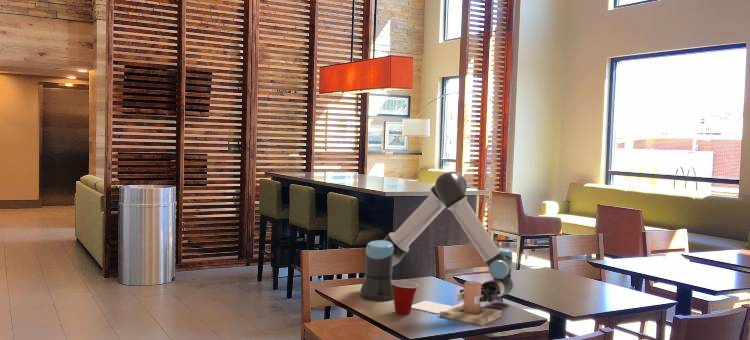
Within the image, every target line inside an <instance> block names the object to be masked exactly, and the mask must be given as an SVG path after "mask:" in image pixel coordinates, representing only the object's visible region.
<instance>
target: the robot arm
mask: <svg viewBox="0 0 750 340" xmlns="http://www.w3.org/2000/svg"><path fill="white" fill-rule="evenodd" d="M467 188H468V183H467V180H466V178H465V177H464V175H462V174H461V173H460V172H458V171H449V172H448V171H447V172H445V173H442V174H440V175H438V177H437V178H436V181H435V184H434V185H433V186H432V187H431V188H430V194H429V195H428V196H427V197H426V199H424V200H423V201H422V203H421V204H420V205H419V206H418V207H417V208H416V209H415V210H414V211H413V212H412V213H411V215H410V216H408V217H407V219H405V221H403V223H402V224H401V225H400V226H399V228H397V229H396V230H395V232H389V233H388V234H387V235H386V236H385V238H384V239H381V240H380V239H378V240H372V241H370V242H367V245H366V249H365V266H364V267H365V269H364V280H363V281H362V285H361V288H360V290H359V297H360V298H362V299H364V300H369V301H378V302H383V301H391V300H394V297H393V288H392V284H391V281H393V269H394V268H393V267H394V266H396V265H398V264H399V263H400V262H401V261H402V259H403V258H404V257H405V255H406V254H408V253H409V251H410V247H409V246H410V245H411V244H412V243H413V242H414V241H415V240H416V239H417V238H418V237H419V236H420V235H421V234H422V233H423V232H424V230H425V229H426V228H428V226H429V225H430V224H431V223H432V222H433V221H434V219H436V218H437V217H438V216H439V214H440V213H442V211H443V210H445V209H447V210H448V211H451V212H452V214H453V216H454V217H455V219H456V220H457V221H458V223H459V225H460V226H461V227H462V229H463V231H464V232H465V233H466V235H467V237H468V238H469V240H470V241H471V242H472V244H473V246H474V248H475V249H476V250H477V252H478V254H479V255H480V257H481V258H482V260H483V261H484V263H485V264H486V266H487V268H488V270H489V274H490V276H492V279H491V280H488V281H484V282H483V283H481V295H479V296H476V297H474V305H476V304H479V303H480V304H481V303H486V302H487V301H488V303H493V302H494V301H496V300H498V299H501V297H502V296H505V295H508V294H509V293H511V292H512V291H513V290H514V288H515V282H514V280H513V278H512V266H513V251H512V250H511V249H507V248H499V247H498V246H497V245H496V243H495V242H494V240H493V238H492V237H491V236H490V234H489V232H488V231H487V229H486V228H485V226H484V224H483V223H482V222H481V220H480V218H479V217H478V216H477V214H476V212H475V211H474V209H473V208H472V207H471V205H470V203H469V201H468V195H467V194H466V192H467ZM460 301H464V288H462V289H459V293H457V297H456V302H460Z"/></svg>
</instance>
